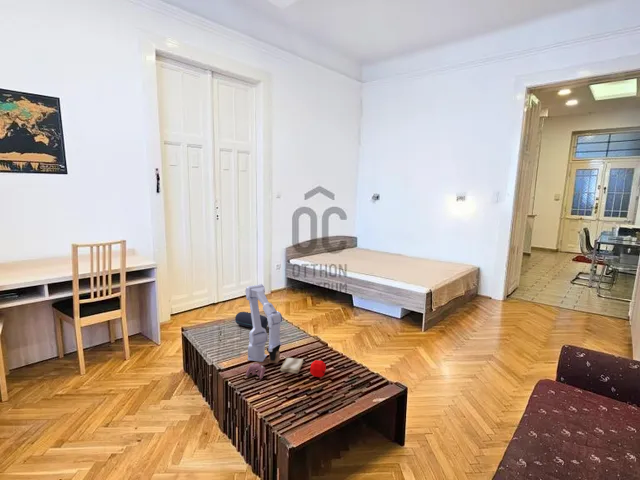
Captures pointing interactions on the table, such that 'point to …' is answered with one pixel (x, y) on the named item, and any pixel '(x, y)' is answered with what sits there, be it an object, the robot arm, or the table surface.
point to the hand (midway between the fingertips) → (274, 357)
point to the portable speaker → (249, 320)
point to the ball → (318, 368)
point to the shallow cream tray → (292, 365)
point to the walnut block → (275, 358)
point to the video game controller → (255, 367)
